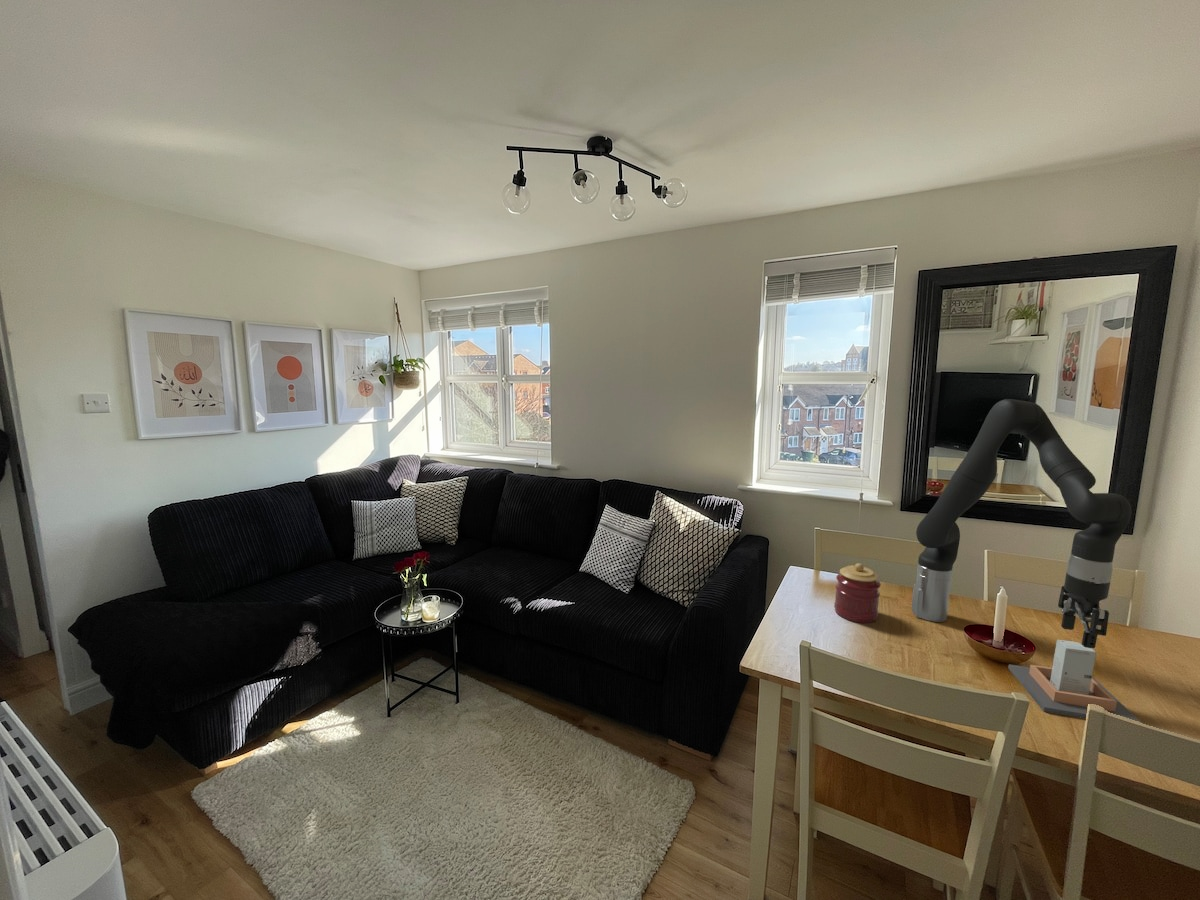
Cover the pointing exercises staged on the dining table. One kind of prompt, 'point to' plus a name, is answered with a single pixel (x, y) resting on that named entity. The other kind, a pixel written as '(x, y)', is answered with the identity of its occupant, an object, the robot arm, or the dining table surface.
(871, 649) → the dining table surface
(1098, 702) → the collar stand
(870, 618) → the canister
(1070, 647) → the skincare box
